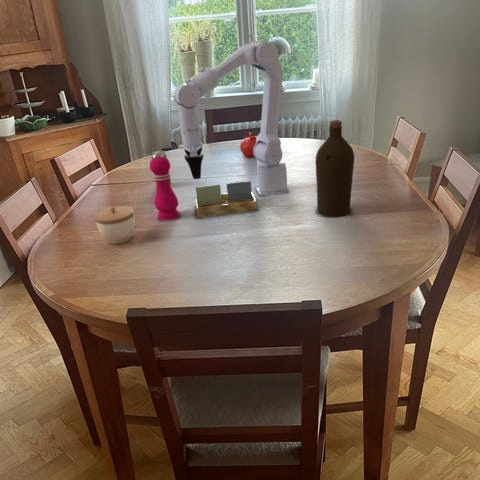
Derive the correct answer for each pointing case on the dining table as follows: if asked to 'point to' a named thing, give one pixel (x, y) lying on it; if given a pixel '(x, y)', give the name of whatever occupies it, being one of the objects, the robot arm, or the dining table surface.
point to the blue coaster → (239, 191)
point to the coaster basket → (226, 206)
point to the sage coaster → (208, 194)
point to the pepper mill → (163, 188)
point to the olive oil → (334, 173)
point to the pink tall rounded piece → (161, 155)
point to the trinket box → (116, 224)
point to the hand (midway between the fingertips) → (196, 174)
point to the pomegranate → (248, 145)
